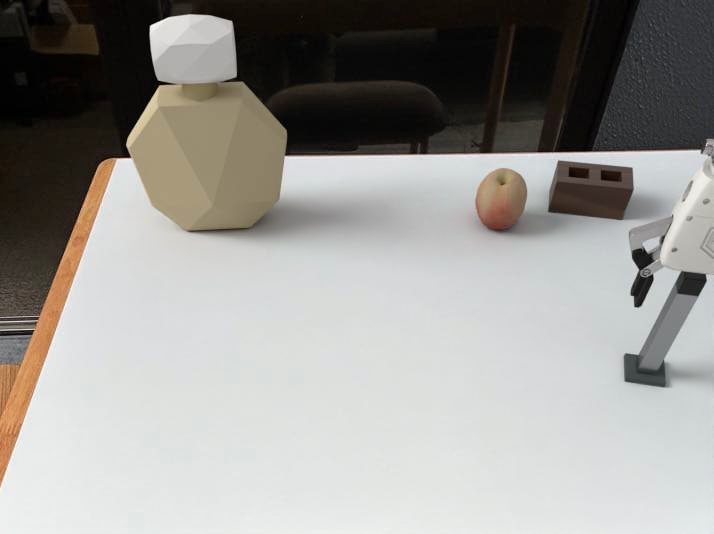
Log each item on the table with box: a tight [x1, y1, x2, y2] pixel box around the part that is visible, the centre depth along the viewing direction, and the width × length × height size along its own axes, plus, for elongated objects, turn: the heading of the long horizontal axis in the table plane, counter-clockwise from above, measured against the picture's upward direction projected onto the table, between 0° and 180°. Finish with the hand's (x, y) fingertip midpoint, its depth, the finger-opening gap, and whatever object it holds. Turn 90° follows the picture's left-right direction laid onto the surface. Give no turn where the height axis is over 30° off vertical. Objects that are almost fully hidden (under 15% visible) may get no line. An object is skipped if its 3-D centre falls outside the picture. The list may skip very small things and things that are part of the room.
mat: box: [623, 352, 667, 388], centre depth 86 cm, size 5×5×1 cm
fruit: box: [474, 167, 528, 230], centre depth 103 cm, size 8×8×8 cm
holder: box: [547, 159, 635, 221], centre depth 107 cm, size 7×12×5 cm, turn 76°
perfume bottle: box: [125, 13, 288, 231], centre depth 97 cm, size 12×24×28 cm, turn 93°
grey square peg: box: [636, 271, 708, 375], centre depth 80 cm, size 2×2×14 cm
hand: (678, 305), depth 78 cm, fingers open, 9 cm apart
